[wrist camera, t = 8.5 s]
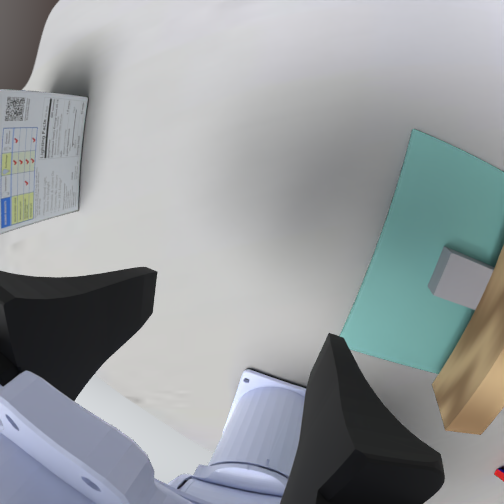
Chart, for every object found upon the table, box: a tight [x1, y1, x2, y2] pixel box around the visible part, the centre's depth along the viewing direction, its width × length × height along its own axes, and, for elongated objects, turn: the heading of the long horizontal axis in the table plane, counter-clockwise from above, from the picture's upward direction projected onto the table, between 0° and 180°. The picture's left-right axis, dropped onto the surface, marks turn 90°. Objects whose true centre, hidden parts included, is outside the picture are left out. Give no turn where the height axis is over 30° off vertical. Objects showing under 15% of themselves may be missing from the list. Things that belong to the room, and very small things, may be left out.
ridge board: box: [340, 129, 504, 374], centre depth 17 cm, size 16×20×2 cm
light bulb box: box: [0, 89, 88, 234], centre depth 19 cm, size 11×7×11 cm, turn 171°
